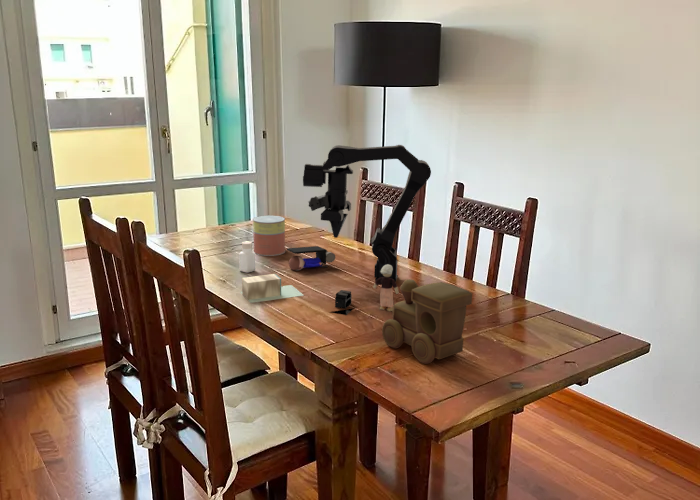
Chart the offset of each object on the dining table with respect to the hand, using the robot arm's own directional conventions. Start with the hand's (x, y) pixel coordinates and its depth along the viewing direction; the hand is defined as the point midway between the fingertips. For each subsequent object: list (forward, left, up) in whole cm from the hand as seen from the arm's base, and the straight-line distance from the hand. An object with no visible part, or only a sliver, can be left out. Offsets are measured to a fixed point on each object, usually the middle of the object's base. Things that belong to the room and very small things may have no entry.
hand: (335, 237), depth 203 cm
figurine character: (+10, -8, -13) cm, 19 cm away
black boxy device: (-7, +25, -14) cm, 30 cm away
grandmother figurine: (-19, +24, -13) cm, 33 cm away
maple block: (+13, +19, -10) cm, 25 cm away
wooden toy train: (-31, +50, -13) cm, 60 cm away
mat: (+15, +20, -13) cm, 28 cm away
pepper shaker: (+29, 0, -13) cm, 32 cm away
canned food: (+29, -24, -13) cm, 40 cm away
